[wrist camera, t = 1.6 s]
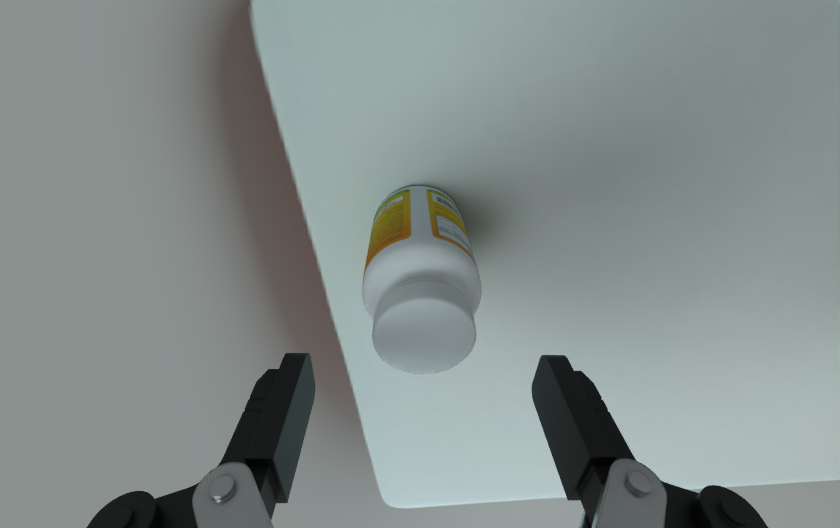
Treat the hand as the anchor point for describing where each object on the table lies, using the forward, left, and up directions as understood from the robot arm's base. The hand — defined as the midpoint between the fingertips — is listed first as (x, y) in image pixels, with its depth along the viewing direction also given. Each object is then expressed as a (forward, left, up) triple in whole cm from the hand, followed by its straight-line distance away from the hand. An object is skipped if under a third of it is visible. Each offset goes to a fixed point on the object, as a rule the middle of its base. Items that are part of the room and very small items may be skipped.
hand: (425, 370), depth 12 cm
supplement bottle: (0, 0, -11) cm, 11 cm away
